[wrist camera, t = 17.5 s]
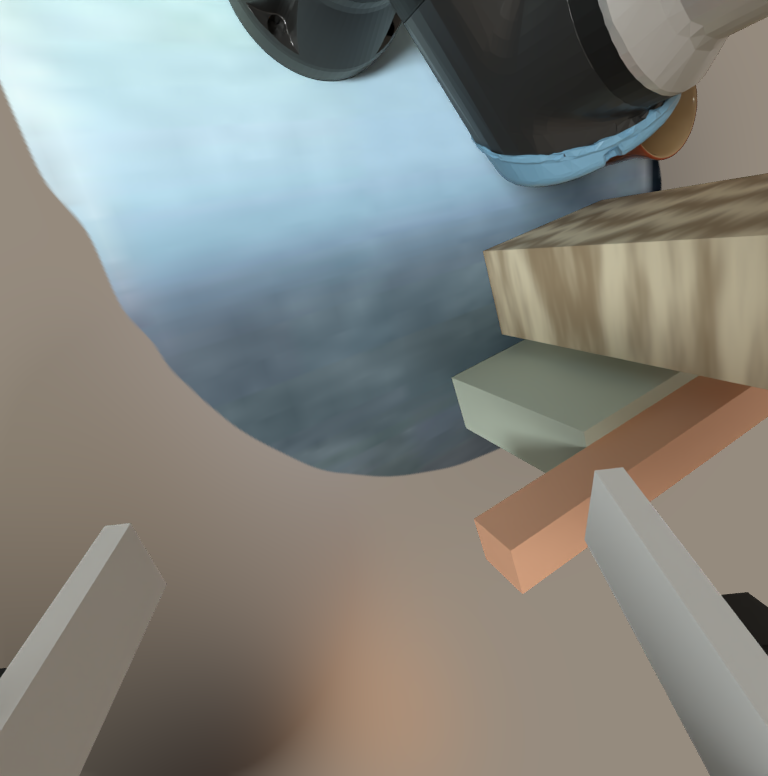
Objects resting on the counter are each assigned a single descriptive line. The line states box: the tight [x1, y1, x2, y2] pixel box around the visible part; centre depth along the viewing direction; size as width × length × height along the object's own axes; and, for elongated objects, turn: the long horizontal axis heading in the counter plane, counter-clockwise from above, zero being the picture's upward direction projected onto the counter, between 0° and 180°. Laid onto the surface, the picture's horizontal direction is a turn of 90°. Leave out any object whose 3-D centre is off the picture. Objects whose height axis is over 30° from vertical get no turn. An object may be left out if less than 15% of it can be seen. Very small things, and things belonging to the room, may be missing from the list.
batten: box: [474, 376, 768, 594], centre depth 34 cm, size 28×4×4 cm, turn 110°
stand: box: [483, 173, 768, 390], centre depth 39 cm, size 18×10×30 cm, turn 110°
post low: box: [452, 339, 699, 473], centre depth 45 cm, size 14×7×19 cm, turn 110°
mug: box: [605, 85, 697, 166], centre depth 45 cm, size 12×9×10 cm
